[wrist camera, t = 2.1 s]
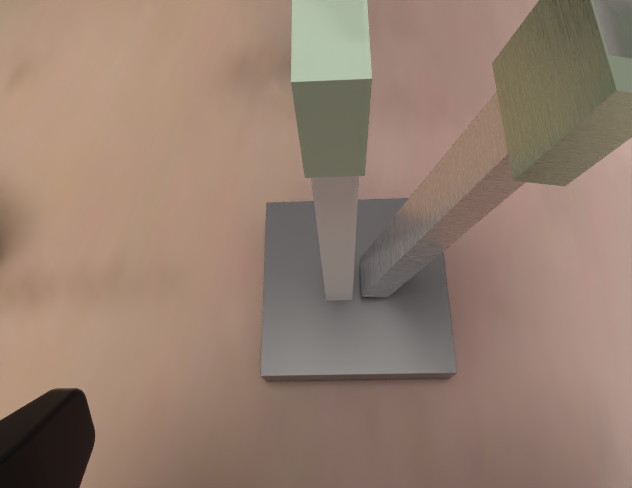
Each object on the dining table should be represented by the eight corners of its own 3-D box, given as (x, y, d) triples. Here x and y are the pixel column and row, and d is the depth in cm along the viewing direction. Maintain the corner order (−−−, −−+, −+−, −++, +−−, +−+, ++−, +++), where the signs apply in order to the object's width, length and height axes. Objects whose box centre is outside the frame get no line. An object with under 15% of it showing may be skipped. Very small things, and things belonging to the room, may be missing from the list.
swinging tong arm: (389, 314, 19) (681, 100, 7) (360, 313, 18) (616, 90, 7) (384, 244, 20) (634, -37, 8) (357, 242, 19) (575, -49, 8)
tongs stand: (448, 378, 19) (686, 209, 6) (266, 381, 20) (98, 226, 6) (431, 213, 22) (567, -161, 9) (271, 218, 22) (161, -135, 9)
